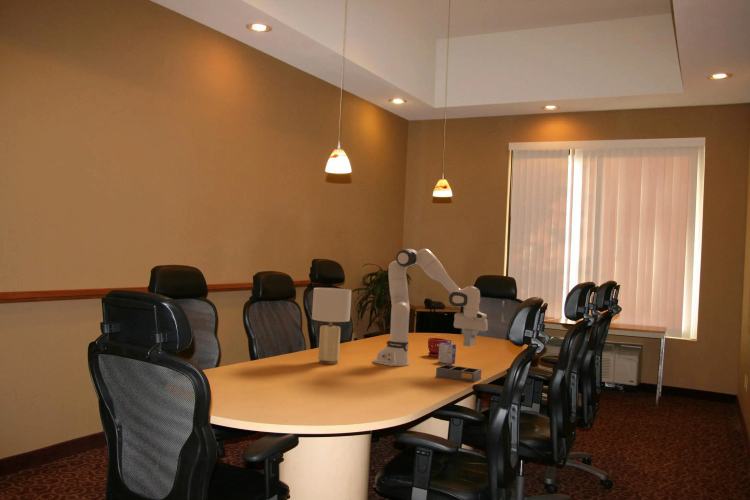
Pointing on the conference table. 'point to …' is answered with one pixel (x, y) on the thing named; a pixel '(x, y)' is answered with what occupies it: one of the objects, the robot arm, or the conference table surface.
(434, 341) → the plant pot
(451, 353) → the ink cartridge box
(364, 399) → the conference table surface
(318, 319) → the lamp
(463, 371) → the slot rack
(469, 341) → the grey rectangular block
